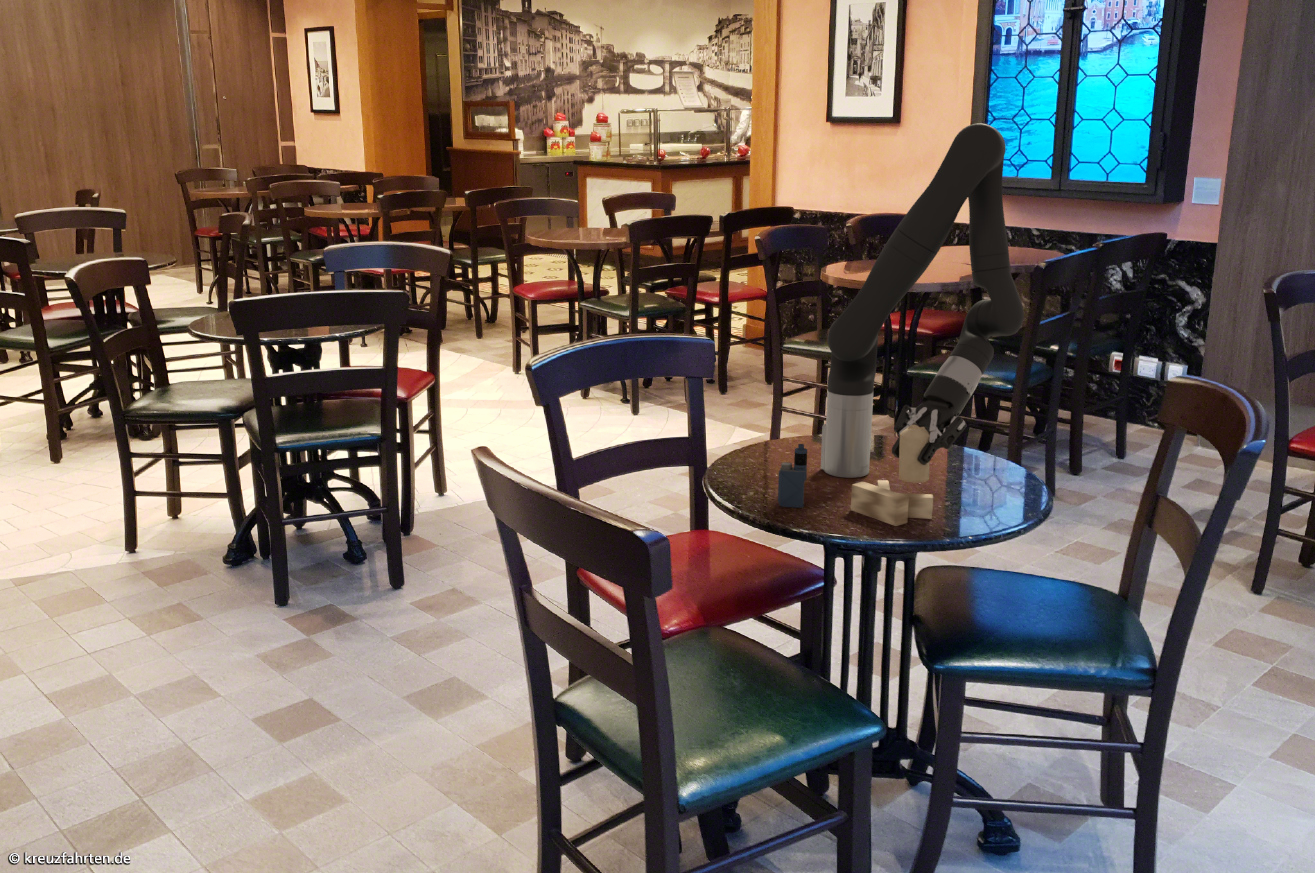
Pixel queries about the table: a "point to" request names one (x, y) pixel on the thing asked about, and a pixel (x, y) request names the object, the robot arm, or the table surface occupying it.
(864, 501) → the letter k block
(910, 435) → the candle
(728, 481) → the table surface
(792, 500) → the vaping device
